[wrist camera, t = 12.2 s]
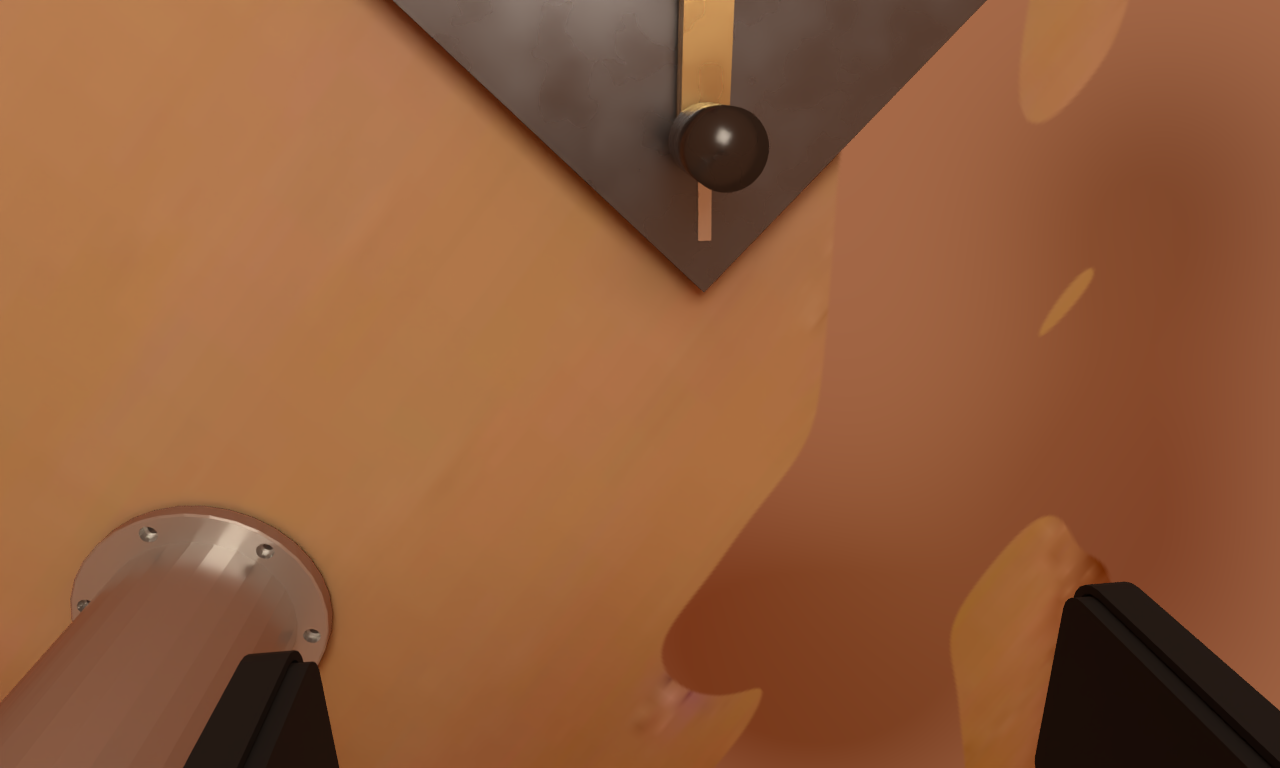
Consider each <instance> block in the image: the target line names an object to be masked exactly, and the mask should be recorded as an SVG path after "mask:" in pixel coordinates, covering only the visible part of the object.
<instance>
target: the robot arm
mask: <svg viewBox="0 0 1280 768" xmlns="http://www.w3.org/2000/svg"><path fill="white" fill-rule="evenodd" d="M70 600H71V619H72V623H71V624H70V625H69V626H68V627H67V628H66V630H65V631H64V632H63V633H62V634H61V635H60V636H59V637H58V639H57V640H56V641H55V642H54V643H53V644H52V645H51V646H50V648H49V649H48V650H47V651H46V652H45V653H44V654H43V655H42V657H41V658H40V659H39V660H38V661H37V662H36V663H35V664H34V666H33V667H32V668H31V669H30V670H29V671H28V672H27V673H26V675H25V676H24V677H23V678H22V679H21V680H20V681H19V682H18V684H17V685H16V686H15V687H14V688H13V689H12V690H11V691H10V693H9V694H8V695H7V696H6V697H5V698H4V699H3V700H2V702H1V703H0V768H339V765H338V760H337V755H336V750H335V745H334V740H333V735H332V730H331V725H330V721H329V716H328V711H327V706H326V701H325V696H324V691H323V686H322V681H321V677H320V672H319V668H318V664H319V662H320V660H321V658H322V656H323V654H324V651H325V649H326V646H327V643H328V640H329V637H330V634H331V627H332V614H333V613H332V607H331V601H330V595H329V592H328V590H327V587H326V585H325V582H324V580H323V577H322V575H321V574H320V572H319V571H318V569H317V568H316V566H315V565H314V563H313V562H312V560H311V559H310V558H309V557H308V556H307V554H306V553H305V552H304V551H303V550H302V549H301V548H300V547H299V546H298V545H297V544H296V543H295V542H294V541H292V540H291V539H289V538H288V537H287V536H285V535H284V534H282V533H281V532H280V531H278V530H277V529H275V528H273V527H271V526H269V525H267V524H265V523H263V522H261V521H259V520H257V519H255V518H253V517H250V516H247V515H244V514H241V513H238V512H234V511H231V510H227V509H220V508H214V507H207V506H177V507H171V508H165V509H159V510H154V511H151V512H148V513H146V514H143V515H140V516H137V517H135V518H132V519H130V520H129V521H127V522H125V523H124V524H122V525H120V526H119V527H117V528H116V529H114V530H113V531H111V532H110V533H109V534H108V535H107V536H106V537H105V538H104V539H103V540H102V541H101V542H100V543H99V544H98V545H96V547H95V548H94V549H93V550H92V551H91V553H90V554H89V555H88V556H87V557H86V559H85V560H84V561H83V563H82V565H81V567H80V569H79V571H78V573H77V575H76V577H75V579H74V584H73V589H72V594H71V598H70ZM1035 768H1280V711H1279V710H1278V709H1277V708H1276V707H1275V706H1274V705H1272V704H1271V703H1270V702H1269V701H1268V700H1267V699H1266V698H1264V697H1263V696H1262V695H1261V694H1260V693H1259V692H1258V691H1256V690H1255V689H1254V688H1253V687H1252V686H1251V685H1250V684H1248V683H1247V682H1246V681H1245V680H1244V679H1243V678H1242V677H1240V676H1239V675H1238V674H1237V673H1236V672H1235V671H1233V670H1232V669H1231V668H1230V667H1229V666H1228V665H1227V664H1226V663H1224V662H1223V661H1222V660H1221V659H1220V658H1219V657H1218V656H1216V655H1215V654H1214V653H1213V652H1212V651H1211V650H1210V649H1208V648H1207V647H1206V646H1205V645H1204V644H1203V643H1202V642H1200V641H1199V640H1198V639H1197V638H1195V636H1194V635H1192V634H1191V633H1190V632H1189V631H1188V630H1187V629H1185V628H1184V627H1183V626H1182V625H1181V624H1180V623H1179V622H1177V621H1176V620H1175V619H1174V618H1173V617H1172V616H1171V615H1169V614H1168V613H1167V612H1166V611H1165V610H1164V609H1163V608H1161V607H1160V606H1159V605H1158V604H1157V603H1156V602H1155V601H1153V600H1152V599H1151V598H1150V597H1149V596H1147V594H1145V593H1144V592H1143V591H1142V590H1141V589H1140V588H1138V587H1137V586H1135V585H1134V584H1132V583H1129V582H1115V583H1103V584H1091V585H1084V586H1081V587H1079V589H1078V590H1077V591H1076V592H1075V595H1074V598H1070V599H1068V600H1067V601H1066V602H1065V605H1064V608H1063V613H1062V618H1061V623H1060V628H1059V634H1058V639H1057V644H1056V649H1055V655H1054V660H1053V665H1052V670H1051V676H1050V681H1049V686H1048V692H1047V697H1046V702H1045V707H1044V713H1043V718H1042V723H1041V728H1040V734H1039V739H1038V744H1037V750H1036V755H1035Z"/></svg>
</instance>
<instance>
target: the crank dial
mask: <svg viewBox="0 0 1280 768" xmlns="http://www.w3.org/2000/svg"><path fill="white" fill-rule="evenodd" d="M733 23H734V0H679V23H678V69H677V114H676V119H675V120H674V122H673V124H672V126H671V129H670V133H669V149H670V153H671V156H672V158H673V160H674V161H675V163H676V164H677V166H678V167H679V168H680V169H681V170H683V171H684V172H685V173H687V174H688V175H690V176H691V177H692V178H694V179H695V180H696V181H698V182H699V183H701V184H702V185H703V186H705V187H706V188H708V189H710V190H713V191H716V192H721V193H731V192H736V191H739V190H742V189H744V188H746V187H748V186H749V185H751V184H752V183H753V182H754V181H755V180H756V179H757V178H758V177H759V176H760V174H761V173H762V171H763V169H764V167H765V165H766V163H767V159H768V155H769V140H768V136H767V132H766V130H765V128H764V126H763V124H762V123H761V121H760V120H759V119H758V118H757V117H756V116H755V115H754V114H753V113H751V112H750V111H748V110H746V109H743V108H741V107H736V106H730V91H731V69H732V46H733Z"/></svg>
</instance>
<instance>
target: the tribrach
mask: <svg viewBox="0 0 1280 768" xmlns="http://www.w3.org/2000/svg"><path fill="white" fill-rule="evenodd" d="M393 1H394V2H395V3H396V4H397V5H398V6H399V7H400V8H401V9H403V10H404V11H405V12H406V13H407V14H408V15H409V16H410V17H411V18H412V19H413V20H414V21H415V22H416V23H417V24H418V25H420V26H421V27H422V28H423V29H424V30H425V31H426V32H427V33H428V34H429V35H430V36H431V37H432V38H433V39H434V40H436V41H437V42H438V43H439V44H440V45H441V46H442V47H443V48H444V49H445V50H446V51H447V52H448V53H449V54H450V55H452V56H453V57H454V58H455V59H456V60H457V61H458V62H459V63H460V64H461V65H462V66H463V67H464V68H465V69H466V70H468V71H469V72H470V73H471V74H472V75H473V76H474V77H475V78H476V79H477V80H478V81H479V82H480V83H481V84H482V85H483V86H485V87H486V88H487V89H488V90H489V91H490V92H491V93H492V94H493V95H494V96H495V97H496V98H497V99H498V100H499V101H501V102H502V103H503V104H504V105H505V106H506V107H507V108H508V109H509V110H510V111H511V112H512V113H513V114H514V115H515V116H517V117H518V118H519V119H520V120H521V121H522V122H523V123H524V124H525V125H526V126H527V127H528V128H529V129H530V130H531V131H532V132H534V133H535V134H536V135H537V136H538V137H539V138H540V139H541V140H542V141H543V142H544V143H545V144H546V145H547V146H548V147H550V148H551V149H552V150H553V151H554V152H555V153H556V154H557V155H558V156H559V157H560V158H561V159H562V160H563V161H564V162H566V163H567V164H568V165H569V166H570V167H571V168H572V169H573V170H574V171H575V172H576V173H577V174H578V175H579V176H580V177H582V178H583V179H584V180H585V181H586V182H587V183H588V184H589V185H590V186H591V187H592V188H593V189H594V190H595V191H596V192H597V193H599V194H600V195H601V196H602V197H603V198H604V199H605V200H606V201H607V202H608V203H609V204H610V205H611V206H612V207H613V208H615V209H616V210H617V211H618V212H619V213H620V214H621V215H622V216H623V217H624V218H625V219H626V220H627V221H628V222H629V223H631V224H632V225H633V226H634V227H635V228H636V229H637V230H638V231H639V232H640V233H641V234H642V235H643V236H644V237H645V238H647V239H648V240H649V241H650V242H651V243H652V244H653V245H654V246H655V247H656V248H657V249H658V250H659V251H660V252H661V253H662V254H664V255H665V256H666V257H667V258H668V259H669V260H670V261H671V262H672V263H673V264H674V265H675V266H676V267H677V268H678V269H680V270H681V271H682V272H683V273H684V274H685V275H686V276H687V277H688V278H689V279H690V280H691V281H692V282H693V283H694V284H696V285H697V286H698V287H699V288H700V289H701V290H702V291H703V292H705V291H706V290H707V289H708V288H709V287H710V286H711V284H712V283H713V282H714V281H715V280H716V279H717V278H718V277H719V276H720V275H721V274H722V273H723V272H724V271H725V270H726V269H727V268H728V267H729V266H730V265H731V264H732V263H733V262H734V261H735V260H736V259H737V258H738V257H739V256H740V255H741V254H742V252H743V251H744V250H745V249H746V248H747V247H748V246H749V245H750V244H751V243H752V242H753V241H754V240H755V239H756V238H757V237H758V236H759V235H760V234H761V233H762V232H763V231H764V230H765V229H766V228H767V227H768V226H769V225H770V224H771V223H772V221H773V220H774V219H775V218H776V217H777V216H778V215H779V214H780V213H781V212H782V211H783V210H784V209H785V208H786V207H787V206H788V205H789V204H790V203H791V202H792V201H793V200H794V199H795V198H796V197H797V196H798V195H799V194H800V193H801V192H802V190H803V189H804V188H805V187H806V186H807V185H808V184H809V183H810V182H811V181H812V180H813V179H814V178H815V177H816V176H817V175H818V174H819V173H820V172H821V171H822V170H823V169H824V168H825V167H826V166H827V165H828V164H829V163H830V162H831V161H832V159H833V158H834V157H835V156H836V155H837V154H838V153H839V152H840V151H841V150H842V149H843V148H844V147H845V146H846V145H847V144H848V143H849V142H850V141H851V140H852V139H853V138H854V137H855V136H856V135H857V134H858V132H860V130H861V129H862V128H863V127H864V126H865V125H866V124H867V123H868V122H869V121H870V120H871V119H872V118H873V117H874V116H875V115H876V114H877V113H878V112H879V111H880V110H881V109H882V108H883V107H884V106H885V104H887V103H888V102H889V101H890V100H891V98H892V97H893V96H894V95H895V94H896V93H897V92H898V91H899V90H900V89H901V88H902V87H903V86H904V85H905V84H906V83H907V82H908V81H909V80H910V79H911V78H912V77H913V76H914V75H915V74H916V73H917V72H918V70H920V68H922V66H923V65H924V64H925V63H926V62H927V61H928V60H929V59H930V58H931V57H932V56H933V55H934V54H935V53H936V52H937V51H938V50H939V49H940V48H941V47H942V46H943V45H944V44H945V43H946V42H947V41H948V40H949V39H950V37H951V36H952V35H953V34H954V33H955V32H956V31H957V30H958V29H959V28H960V27H961V26H962V25H963V24H964V23H965V22H966V21H967V20H968V19H969V18H970V17H971V16H972V15H973V14H974V13H975V12H976V11H977V9H979V8H980V6H982V4H983V3H984V2H985V1H986V0H734V23H733V46H732V69H731V91H730V106H736V107H741V108H743V109H746V110H748V111H750V112H751V113H753V114H754V115H755V116H756V117H757V118H758V119H759V120H760V121H761V123H762V124H763V126H764V128H765V130H766V132H767V136H768V140H769V155H768V159H767V163H766V165H765V167H764V169H763V171H762V173H761V174H760V176H759V177H758V178H757V179H756V180H755V181H754V182H753V183H752V184H751V185H749V186H748V187H746V188H744V189H742V190H739V191H736V192H731V193H721V192H716V191H713V190H710V189H708V188H706V187H705V186H703V185H702V184H701V183H699V182H698V181H696V180H695V179H694V178H692V177H691V176H690V175H688V174H687V173H685V172H684V171H683V170H681V169H680V168H679V167H678V166H677V164H676V163H675V161H674V160H673V158H672V156H671V153H670V149H669V133H670V129H671V126H672V124H673V122H674V120H675V119H676V114H677V69H678V23H679V0H393Z"/></svg>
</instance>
